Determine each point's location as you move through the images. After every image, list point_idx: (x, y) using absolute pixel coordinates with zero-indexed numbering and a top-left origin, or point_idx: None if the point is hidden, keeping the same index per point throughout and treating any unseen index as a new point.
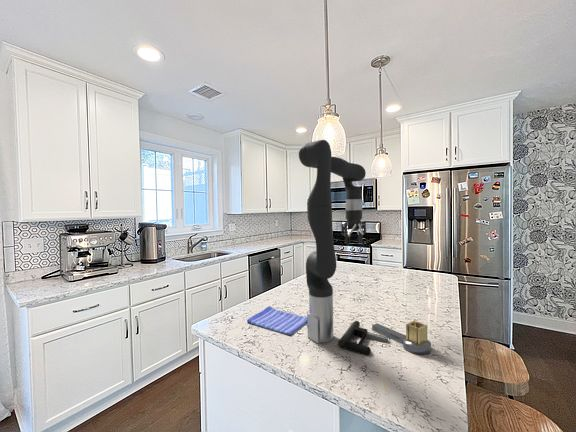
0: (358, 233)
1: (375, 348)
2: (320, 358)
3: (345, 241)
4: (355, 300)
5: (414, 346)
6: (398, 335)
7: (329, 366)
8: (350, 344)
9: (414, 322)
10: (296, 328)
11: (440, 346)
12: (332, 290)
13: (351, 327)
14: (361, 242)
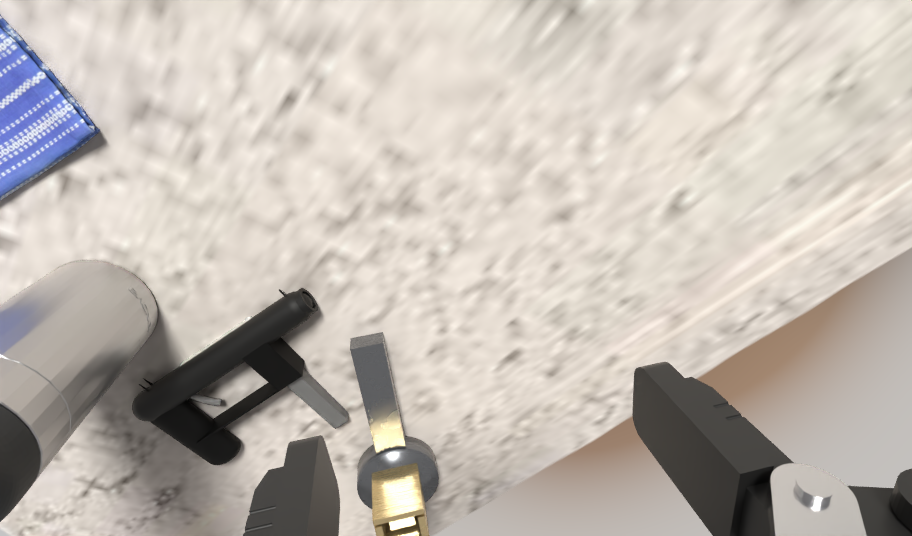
0: (768, 520)
1: (272, 433)
2: None
3: (255, 512)
4: (532, 11)
5: (365, 502)
6: (381, 435)
7: (56, 464)
8: (170, 432)
9: (415, 513)
10: None
11: (467, 478)
12: (9, 512)
13: (239, 352)
14: (637, 430)
